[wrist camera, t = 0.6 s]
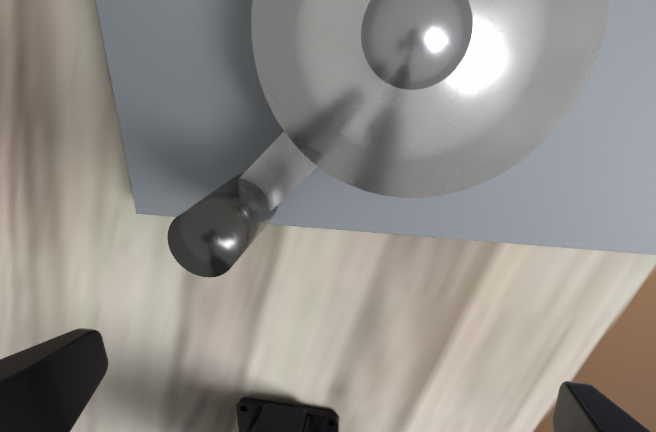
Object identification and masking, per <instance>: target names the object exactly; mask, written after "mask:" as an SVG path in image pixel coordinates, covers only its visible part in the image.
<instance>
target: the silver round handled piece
mask: <svg viewBox="0 0 656 432" xmlns="http://www.w3.org/2000/svg"><path fill="white" fill-rule="evenodd" d="M608 10H609V0H253V1H252V11H251V37H252V45H253V54H254V60H255V65H256V69H257V73H258V77H259V81H260V84H261V86H262V89H263V92H264V95H265V97H266V100H267V102H268V104H269V106H270V108H271V110H272V112H273V114H274V116H275V118H276V120H277V121H278V123H279V124H280V126H281V127H282V129H283V130H284V132H283V133H282V134H281V135H280V136H279V137H278V138H277V139H276V140H275V141H274V142H273V143H272V144H271V145H270V146H269V147H268V149H267V150H266V151H265V152H264V153H263V154H262V155H261V156H260V157H259V158H258V159H257V160H256V161H255V162H254V163H253V164H252V165H251V166H250V167H249V168H248V170H247V171H246V172H245V173H241V174H238V175H236V176H234V177H233V178H232V179H230V180H229V181H227V182H226V183H224V184H223V185H222V186H220V187H219V188H217V189H216V190H214V191H213V192H212V193H210V194H209V195H207V196H206V197H204V198H203V199H202V200H200V201H199V202H197V203H196V204H195V205H193V206H192V207H190V208H189V209H187V210H186V211H185V212H183V213H182V214H180V215H179V216H177V217H176V218H175V219H174V220H173V222H172V223H171V225H170V227H169V230H168V244H169V248H170V251H171V253H172V255H173V256H174V258H175V259H176V260H177V262H178V263H179V264H180V265H181V266H182V267H183V268H185V269H186V270H188V271H189V272H191V273H193V274H195V275H198V276H202V277H216V276H220V275H222V274H224V273H226V272H227V271H228V270H229V269H230V268H231V267H232V266H233V264H234V263H235V262H236V261H237V260H238V258H239V257H240V256H241V255H242V254H243V252H244V251H245V250H246V249H247V248H248V246H249V245H250V244H251V243H252V242H253V241H254V239H255V238H256V237H257V236H258V235H259V233H260V232H261V231H262V230H263V229H264V227H265V226H266V225H267V224H268V223H269V221H270V220H271V219H272V218H273V217H274V215H275V213H276V211H277V208H278V204H279V203H280V202H281V201H282V200H283V199H284V198H285V197H286V196H287V195H288V194H290V193H291V192H292V191H293V190H294V189H295V188H296V187H297V186H298V185H299V184H300V183H301V182H302V181H303V180H304V179H305V178H306V177H307V176H308V175H310V174H311V173H312V172H313V171H314V170H315V169H316V168H317V167H320V168H321V169H322V170H324V171H325V172H327V173H328V174H329V175H331V176H333V177H335V178H337V179H339V180H341V181H342V182H344V183H346V184H348V185H351V186H354V187H356V188H359V189H361V190H364V191H368V192H372V193H375V194H379V195H384V196H392V197H400V198H425V197H434V196H442V195H447V194H451V193H455V192H459V191H463V190H466V189H468V188H471V187H474V186H477V185H479V184H482V183H484V182H486V181H488V180H490V179H492V178H494V177H496V176H498V175H500V174H502V173H504V172H505V171H507V170H508V169H510V168H511V167H513V166H514V165H516V164H517V163H519V162H520V161H522V160H523V159H524V158H526V157H527V156H528V155H529V154H530V153H532V152H533V151H534V150H535V149H536V148H537V147H539V146H540V145H541V144H542V143H543V142H544V141H545V140H546V139H547V138H548V137H549V135H550V134H551V133H552V132H553V131H554V130H555V129H556V128H557V127H558V126H559V124H560V123H561V122H562V120H563V119H564V118H565V116H566V115H567V114H568V112H569V111H570V110H571V108H572V107H573V105H574V104H575V102H576V100H577V99H578V97H579V95H580V94H581V92H582V90H583V88H584V87H585V85H586V83H587V81H588V78H589V76H590V74H591V72H592V69H593V67H594V65H595V62H596V60H597V57H598V53H599V50H600V47H601V44H602V40H603V37H604V33H605V27H606V22H607V16H608Z"/></svg>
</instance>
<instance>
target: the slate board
mask: <svg viewBox="0 0 656 432" xmlns="http://www.w3.org/2000/svg"><path fill="white" fill-rule="evenodd" d="M95 1H96V6H97V11H98V16H99V22H100V27H101V32H102V37H103V42H104V48H105V53H106V58H107V63H108V68H109V74H110V79H111V84H112V89H113V94H114V99H115V105H116V110H117V115H118V120H119V125H120V131H121V136H122V141H123V146H124V151H125V156H126V162H127V167H128V172H129V177H130V182H131V188H132V193H133V198H134V203H135V208H136V213H137V214H148V215H161V216H173V217H177V216H179V215H180V214H182V213H183V212H185V211H186V210H187V209H189V208H190V207H192V206H193V205H195V204H196V203H197V202H199V201H200V200H202V199H203V198H204V197H206V196H207V195H209V194H210V193H212V192H213V191H214V190H216V189H217V188H219V187H220V186H222V185H223V184H224V183H226V182H227V181H229V180H230V179H232V178H233V177H234V176H236V175H238V174H241V173H245V172H246V171H247V170H248V168H249V167H250V166H251V165H252V164H253V163H254V162H255V161H256V160H257V159H258V158H259V157H260V156H261V155H262V154H263V153H264V152H265V151H266V150H267V149H268V147H269V146H270V145H271V144H272V143H273V142H274V141H275V140H276V139H277V138H278V137H279V136H280V135H281V134H282V133H283V132H284V130H283V129H282V127H281V126H280V124H279V123H278V121H277V120H276V118H275V116H274V114H273V112H272V110H271V108H270V106H269V104H268V102H267V100H266V97H265V95H264V92H263V89H262V86H261V84H260V81H259V77H258V73H257V69H256V65H255V60H254V54H253V45H252V37H251V11H252V1H253V0H95ZM268 224H274V225H286V226H299V227H312V228H324V229H337V230H349V231H362V232H374V233H387V234H400V235H412V236H425V237H437V238H450V239H463V240H475V241H488V242H500V243H513V244H525V245H538V246H551V247H563V248H576V249H588V250H601V251H614V252H626V253H639V254H651V255H656V0H609V10H608V16H607V22H606V27H605V33H604V37H603V40H602V44H601V47H600V50H599V53H598V57H597V60H596V62H595V65H594V67H593V69H592V72H591V74H590V76H589V78H588V81H587V83H586V85H585V87H584V88H583V90H582V92H581V94H580V95H579V97H578V99H577V100H576V102H575V104H574V105H573V107H572V108H571V110H570V111H569V112H568V114H567V115H566V116H565V118H564V119H563V120H562V122H561V123H560V124H559V126H558V127H557V128H556V129H555V130H554V131H553V132H552V133H551V134H550V135H549V137H548V138H547V139H546V140H545V141H544V142H543V143H542V144H541V145H540V146H539V147H537V148H536V149H535V150H534V151H533V152H532V153H530V154H529V155H528V156H527V157H526V158H524V159H523V160H522V161H520V162H519V163H517V164H516V165H514V166H513V167H511V168H510V169H508V170H507V171H505V172H504V173H502V174H500V175H498V176H496V177H494V178H492V179H490V180H488V181H486V182H484V183H482V184H479V185H477V186H474V187H471V188H468V189H466V190H463V191H459V192H455V193H451V194H447V195H442V196H434V197H425V198H400V197H392V196H384V195H379V194H375V193H372V192H368V191H364V190H361V189H359V188H356V187H354V186H351V185H348V184H346V183H344V182H342V181H341V180H339V179H337V178H335V177H333V176H331V175H329V174H328V173H327V172H325V171H324V170H322V169H321V168H320V167H317V168H316V169H315V170H314V171H313V172H312V173H311V174H310V175H308V176H307V177H306V178H305V179H304V180H303V181H302V182H301V183H300V184H299V185H298V186H297V187H296V188H295V189H294V190H293V191H292V192H291V193H290V194H288V195H287V196H286V197H285V198H284V199H283V200H282V201H281V202H280V203H279V204H278V208H277V211H276V213H275V215H274V217H273V218H272V219H271V220H270V221H269V223H268Z"/></svg>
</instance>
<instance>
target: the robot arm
mask: <svg viewBox="0 0 656 432" xmlns="http://www.w3.org/2000/svg"><path fill="white" fill-rule="evenodd" d="M107 368H108V358H107V354H106V351H105V347H104V343H103V339H102V336H101V334H100V333H99V331H97V330H92V329H76V330H73V331H71V332H68V333H66V334H63V335H61V336H58V337H56V338H53V339H51V340H48V341H46V342H43V343H41V344H38V345H36V346H33V347H31V348H28V349H25V350H23V351H20V352H18V353H15V354H13V355H10V356H8V357H5V358H3V359H0V432H70V431H71V429H72V427H73V426H74V424H75V423H76V421H77V419H78V418H79V416H80V414H81V413H82V411H83V410H84V408H85V406H86V405H87V403H88V401H89V400H90V398H91V397H92V395H93V393H94V392H95V390H96V388H97V387H98V385H99V384H100V382H101V380H102V379H103V377H104V375H105V374H106V371H107ZM237 416H238V425H239V432H339V416H338V415H337V414H336V413H334V412H331V411H325V410H319V409H313V408H306V407H300V406H294V405H288V404H281V403H275V402H269V401H263V400H256V399H250V398H241V399H240V400H239V402H238V404H237ZM331 420H332V421H331ZM553 430H554V432H650V431H649V430H648V429H647V428H645V427H644V426H643V425H642V424H640V423H639V422H638V421H636V420H635V419H634V418H633V417H631V416H630V415H629V414H628V413H626V412H625V411H624V410H622V409H621V408H620V407H619V406H617V405H616V404H615V403H614V402H612V401H611V400H610V399H609V398H607V397H606V396H605V395H604V394H602V393H601V392H600V391H598V390H597V389H596V388H595V387H593V386H592V385H590V384H587V383H579V382H570V381H566V382H563V383H562V385H561V386H560V389H559V393H558V398H557V402H556V406H555V411H554V415H553Z"/></svg>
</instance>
